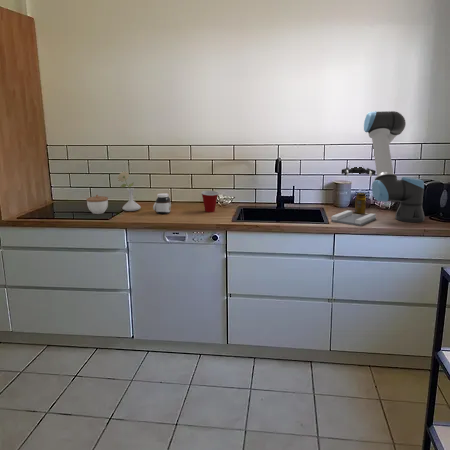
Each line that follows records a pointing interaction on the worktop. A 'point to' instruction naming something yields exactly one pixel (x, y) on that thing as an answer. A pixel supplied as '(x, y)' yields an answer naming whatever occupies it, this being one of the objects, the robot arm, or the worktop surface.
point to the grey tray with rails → (352, 218)
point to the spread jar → (162, 204)
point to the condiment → (360, 204)
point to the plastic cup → (209, 200)
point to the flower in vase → (131, 204)
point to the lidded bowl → (97, 204)
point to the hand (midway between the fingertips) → (359, 174)
